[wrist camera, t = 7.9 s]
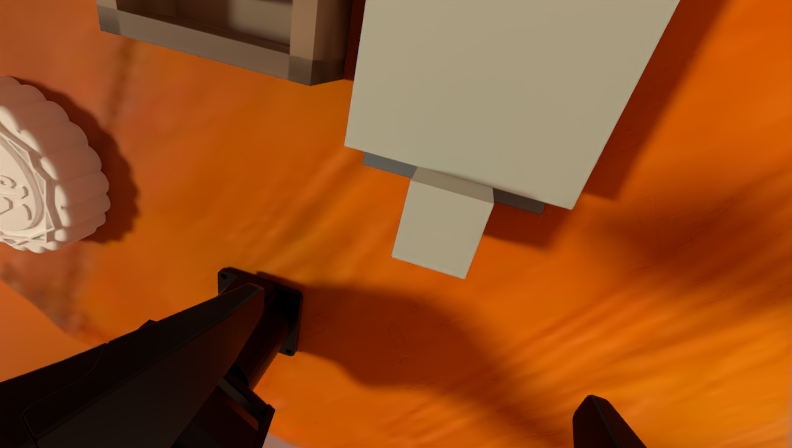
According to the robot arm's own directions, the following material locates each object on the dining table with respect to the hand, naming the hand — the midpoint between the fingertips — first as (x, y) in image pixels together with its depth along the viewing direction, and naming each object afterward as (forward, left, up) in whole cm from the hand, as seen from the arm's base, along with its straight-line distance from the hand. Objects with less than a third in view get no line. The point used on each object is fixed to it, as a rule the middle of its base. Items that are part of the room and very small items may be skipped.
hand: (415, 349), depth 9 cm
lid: (+6, 0, -11) cm, 13 cm away
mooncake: (-7, +29, -12) cm, 32 cm away
